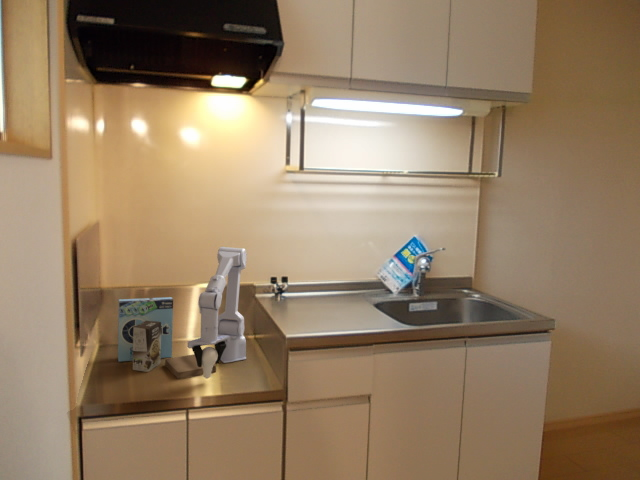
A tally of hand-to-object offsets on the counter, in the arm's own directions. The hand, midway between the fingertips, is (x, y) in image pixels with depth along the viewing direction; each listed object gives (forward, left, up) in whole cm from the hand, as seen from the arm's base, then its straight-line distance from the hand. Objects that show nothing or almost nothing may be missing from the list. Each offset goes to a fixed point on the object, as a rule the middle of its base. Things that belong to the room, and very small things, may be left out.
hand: (208, 364), depth 174 cm
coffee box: (+14, -23, -7) cm, 28 cm away
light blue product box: (+12, -32, -7) cm, 35 cm away
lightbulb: (+1, 0, -5) cm, 5 cm away
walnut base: (+1, -14, -7) cm, 15 cm away
